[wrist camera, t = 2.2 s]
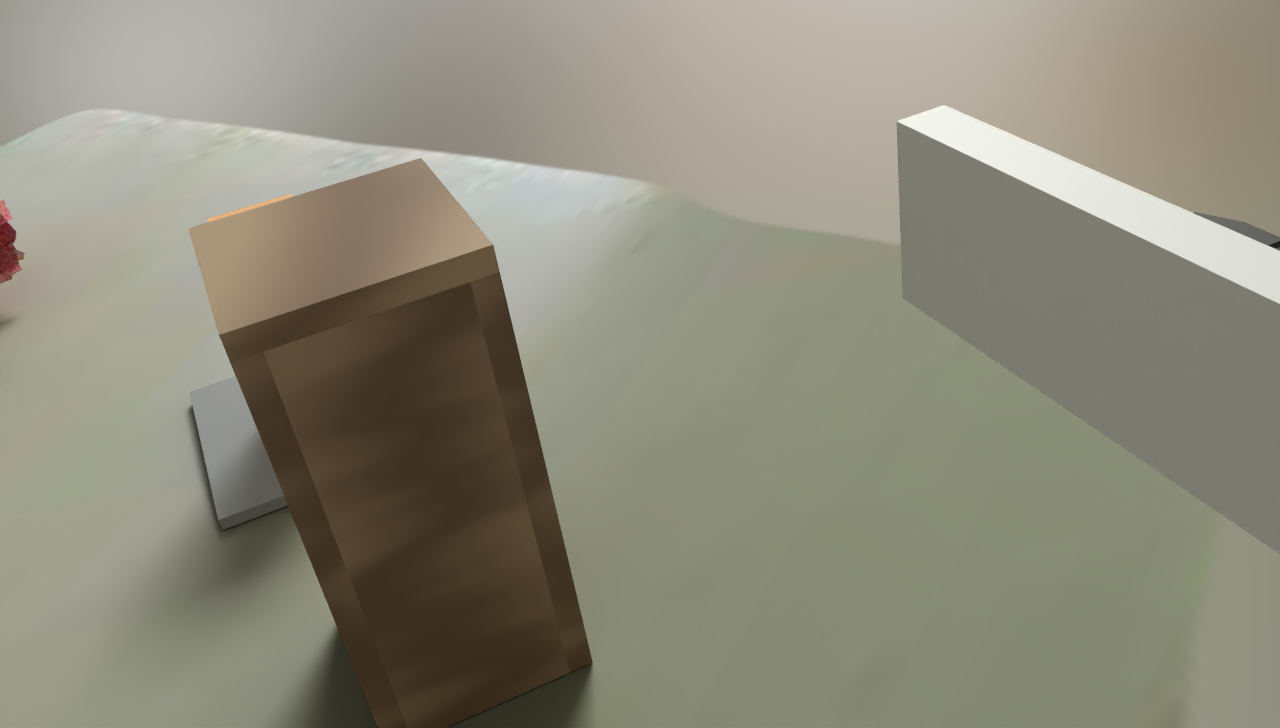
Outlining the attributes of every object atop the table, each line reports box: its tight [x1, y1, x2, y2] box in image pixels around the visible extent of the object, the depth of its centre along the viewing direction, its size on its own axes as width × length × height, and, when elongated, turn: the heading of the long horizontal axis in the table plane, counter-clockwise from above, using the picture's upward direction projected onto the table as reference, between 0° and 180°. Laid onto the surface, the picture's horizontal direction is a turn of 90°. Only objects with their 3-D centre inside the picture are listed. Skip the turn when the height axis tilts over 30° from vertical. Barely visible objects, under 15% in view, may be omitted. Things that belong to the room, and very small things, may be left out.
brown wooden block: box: [188, 158, 593, 728], centre depth 27 cm, size 5×5×12 cm
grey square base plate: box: [190, 194, 292, 530], centre depth 37 cm, size 8×8×7 cm
